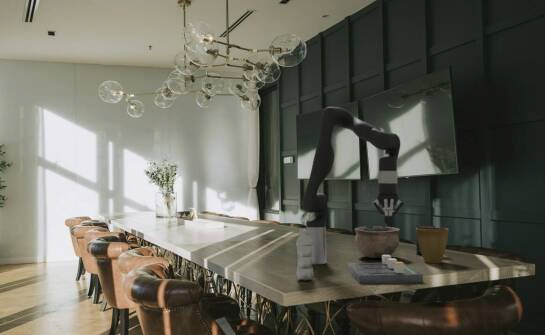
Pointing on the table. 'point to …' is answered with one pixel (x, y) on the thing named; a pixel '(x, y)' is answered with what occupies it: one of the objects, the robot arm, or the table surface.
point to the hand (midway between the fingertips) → (387, 225)
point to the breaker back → (385, 258)
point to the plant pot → (432, 243)
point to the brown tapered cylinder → (417, 239)
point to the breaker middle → (391, 262)
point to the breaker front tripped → (398, 267)
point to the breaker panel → (383, 273)
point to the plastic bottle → (304, 256)
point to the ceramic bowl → (377, 241)
